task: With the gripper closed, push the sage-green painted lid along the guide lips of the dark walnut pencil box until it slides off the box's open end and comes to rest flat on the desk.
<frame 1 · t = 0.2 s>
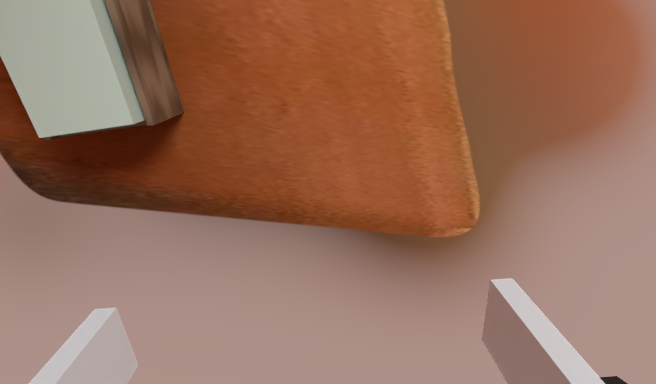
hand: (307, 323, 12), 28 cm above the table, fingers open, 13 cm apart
box: (114, 50, 34), on the table
lid: (73, 48, 28), point 6 cm above the table, touching box
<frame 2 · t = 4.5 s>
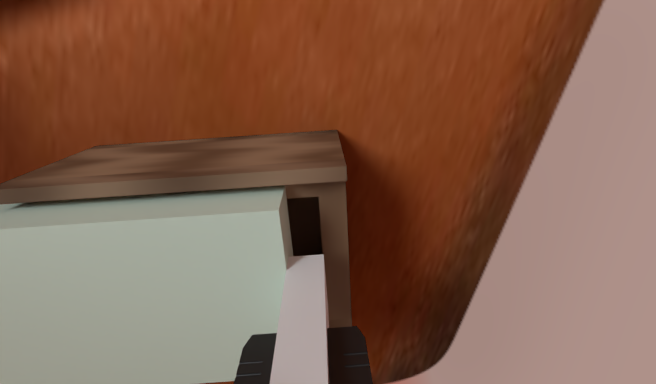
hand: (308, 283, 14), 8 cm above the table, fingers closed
box: (231, 215, 21), on the table
lid: (156, 276, 16), point 6 cm above the table, touching box
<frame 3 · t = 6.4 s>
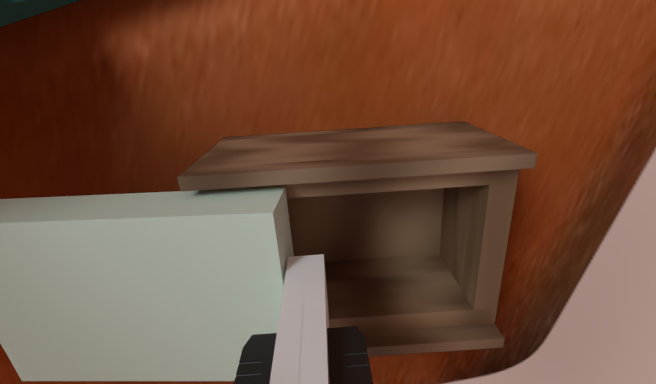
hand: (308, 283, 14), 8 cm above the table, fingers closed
box: (347, 207, 21), on the table
lid: (160, 272, 16), point 6 cm above the table, touching box
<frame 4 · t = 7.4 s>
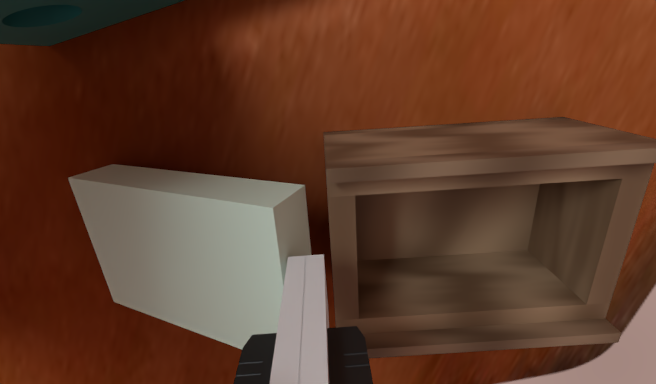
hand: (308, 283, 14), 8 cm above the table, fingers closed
box: (438, 203, 21), on the table
lid: (209, 242, 19), point 3 cm above the table, tilted 26°, touching gripper
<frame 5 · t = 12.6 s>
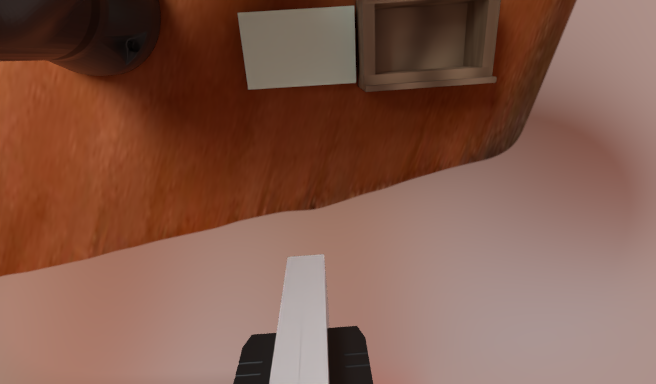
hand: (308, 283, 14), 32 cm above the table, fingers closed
box: (414, 39, 40), on the table
lid: (300, 49, 41), on the table
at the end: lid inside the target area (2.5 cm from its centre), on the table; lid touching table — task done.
